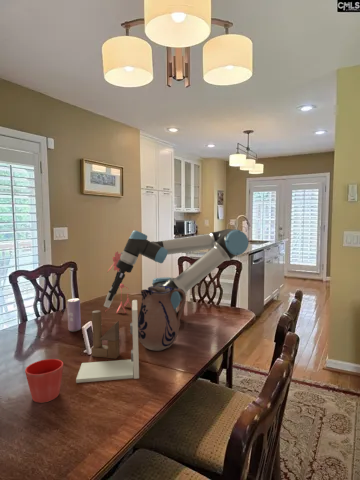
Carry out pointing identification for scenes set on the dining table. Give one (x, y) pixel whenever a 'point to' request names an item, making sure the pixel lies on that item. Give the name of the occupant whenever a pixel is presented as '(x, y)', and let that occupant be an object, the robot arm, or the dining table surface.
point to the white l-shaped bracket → (114, 368)
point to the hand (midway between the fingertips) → (107, 303)
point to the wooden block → (104, 338)
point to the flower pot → (44, 379)
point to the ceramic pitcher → (159, 317)
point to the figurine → (115, 260)
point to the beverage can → (73, 314)
